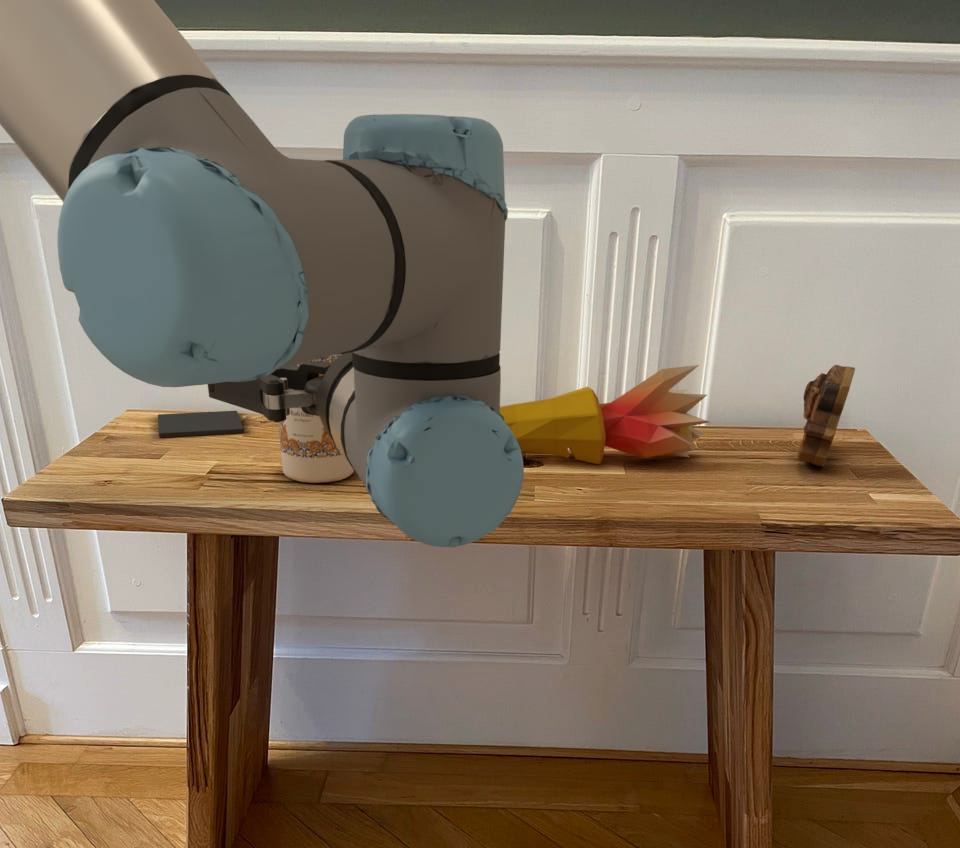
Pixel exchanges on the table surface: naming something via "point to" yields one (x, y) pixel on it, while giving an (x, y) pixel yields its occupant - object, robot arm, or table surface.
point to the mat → (199, 424)
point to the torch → (610, 421)
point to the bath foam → (310, 446)
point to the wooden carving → (823, 412)
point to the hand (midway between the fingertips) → (329, 355)
